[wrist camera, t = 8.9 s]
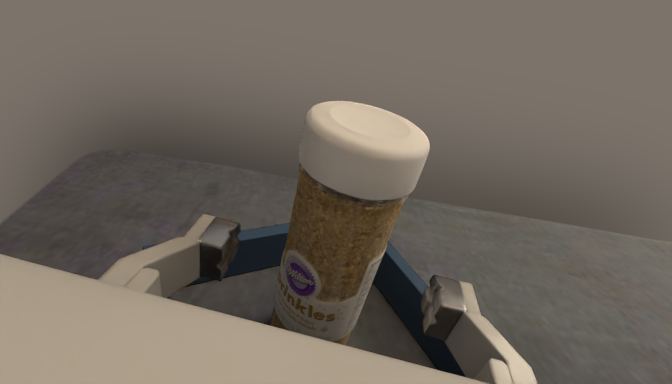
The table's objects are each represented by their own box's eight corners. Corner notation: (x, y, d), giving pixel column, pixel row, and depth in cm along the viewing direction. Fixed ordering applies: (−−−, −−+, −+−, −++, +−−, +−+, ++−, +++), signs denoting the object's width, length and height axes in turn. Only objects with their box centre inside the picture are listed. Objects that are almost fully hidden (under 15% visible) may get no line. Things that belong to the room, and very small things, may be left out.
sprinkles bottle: (248, 353, 17) (279, 111, 10) (293, 296, 21) (340, 89, 14) (323, 403, 16) (417, 167, 9) (357, 333, 20) (443, 126, 13)
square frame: (353, 240, 27) (362, 211, 26) (483, 409, 18) (511, 380, 16) (146, 283, 20) (142, 245, 18) (182, 616, 10) (178, 599, 9)
